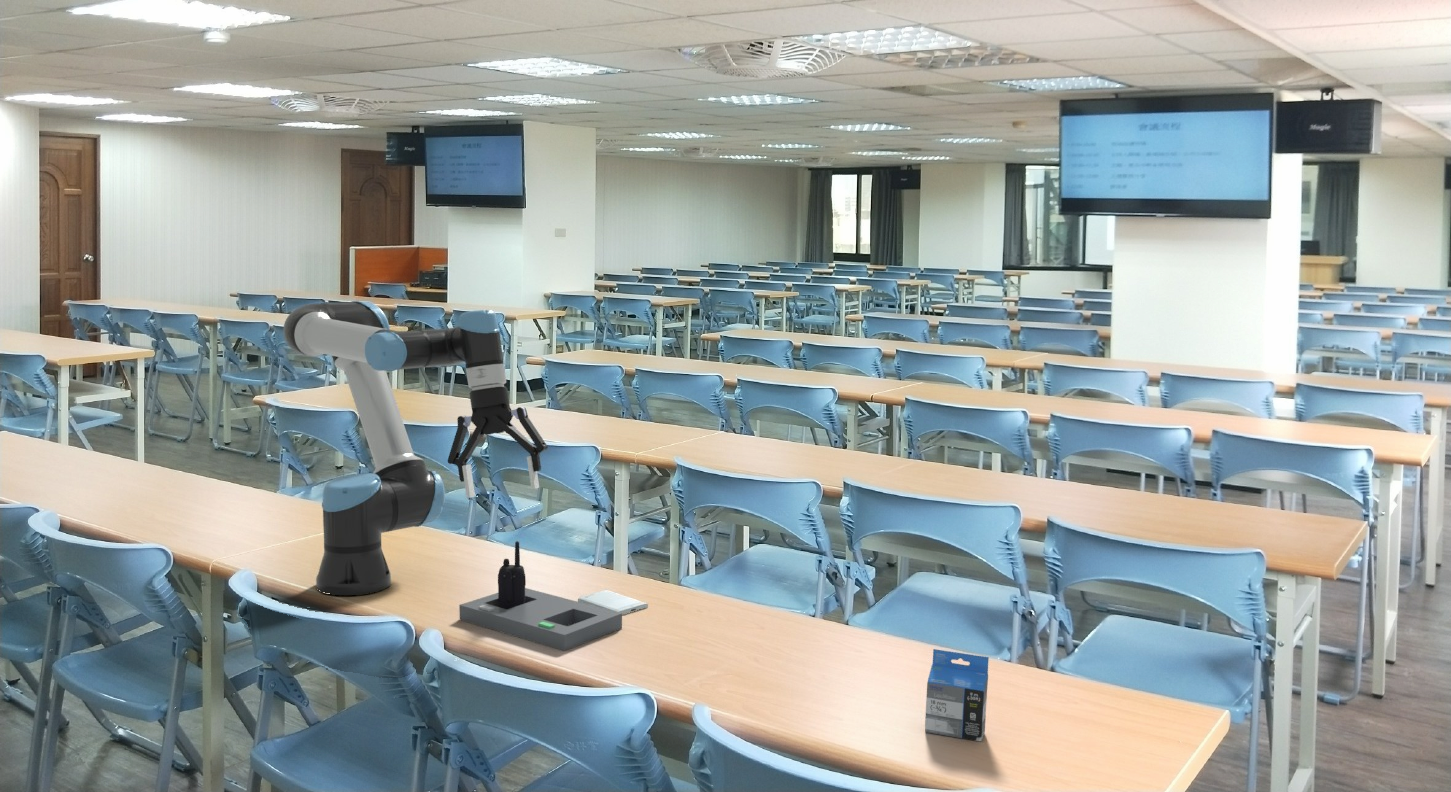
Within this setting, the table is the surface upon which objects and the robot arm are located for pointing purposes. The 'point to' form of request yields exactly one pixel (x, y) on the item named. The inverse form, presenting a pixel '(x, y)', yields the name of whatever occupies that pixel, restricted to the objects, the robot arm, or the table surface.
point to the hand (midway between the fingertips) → (503, 493)
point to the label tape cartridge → (957, 696)
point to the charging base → (543, 619)
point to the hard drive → (613, 602)
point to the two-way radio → (511, 582)
